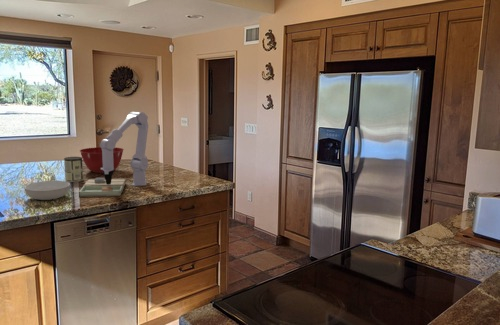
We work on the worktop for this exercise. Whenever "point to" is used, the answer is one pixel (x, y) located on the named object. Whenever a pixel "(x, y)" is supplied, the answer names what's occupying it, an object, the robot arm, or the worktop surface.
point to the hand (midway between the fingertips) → (108, 184)
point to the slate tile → (99, 180)
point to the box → (100, 191)
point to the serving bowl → (47, 189)
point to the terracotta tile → (107, 189)
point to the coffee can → (73, 169)
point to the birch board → (113, 183)
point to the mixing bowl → (99, 158)
